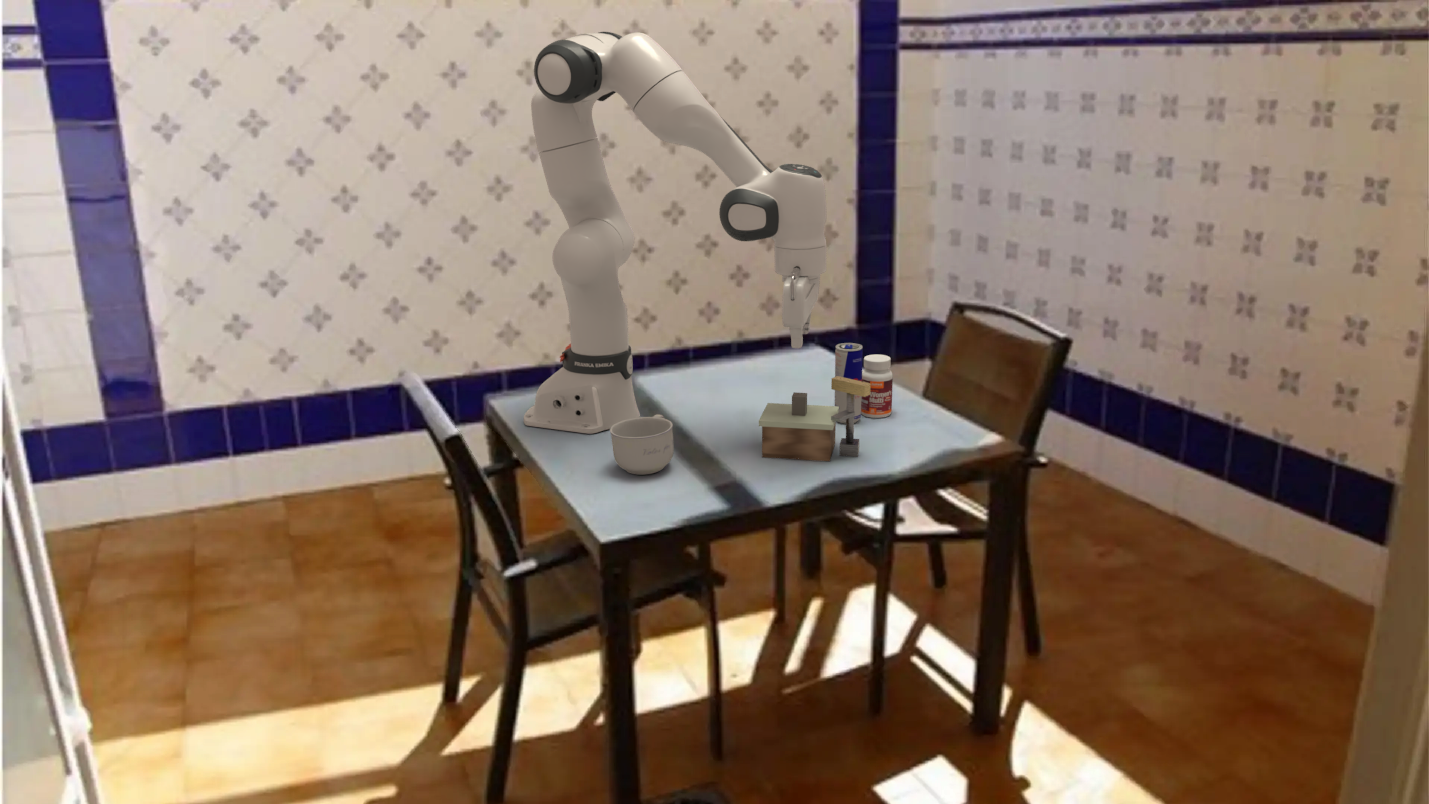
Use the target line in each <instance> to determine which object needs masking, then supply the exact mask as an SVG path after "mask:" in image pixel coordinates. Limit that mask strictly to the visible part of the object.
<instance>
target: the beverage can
mask: <svg viewBox="0 0 1429 804" xmlns="http://www.w3.org/2000/svg"><path fill="white" fill-rule="evenodd" d="M834 351H835V352H834V353H835V354H834V356H835V357H834V362H835V363H834V365H835V366H834V377H836V376H840V377H844V378H849V379H853V380H858V381H862V371H863V355H864V352H863V351H864V350H863V345H862V344H860V343H853V342H844V343H843V342H842V343H838V344H836V345H835V350H834ZM861 399H862V396H858V395H855V402H854V412H855V415H854V424H855V423H857V422H859V420H860V419H861V417H862V414H861ZM846 401H847V393H845V392H841V391H837V390H834V406H839V413H840V412H842V411H844V410H846ZM839 423H841V424H843V425H844V424H845V425H846V420H843V421H841V422H839Z"/></svg>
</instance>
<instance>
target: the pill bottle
mask: <svg viewBox="0 0 1429 804" xmlns="http://www.w3.org/2000/svg"><path fill="white" fill-rule="evenodd" d="M891 360H892V359H891V357H890V356H888V355H886V354H869V355H866V356H864V358H863V368H864V369H862V382H867V383H871V387H870V395H868V396H865V397H863V396H862V399H861V416H864V417H867V418H870V419H881V418H886V417H889V416H890V415H891V414H892V408H893V380H894V378H893V372H892V370H890V368H891Z"/></svg>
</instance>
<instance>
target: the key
mask: <svg viewBox="0 0 1429 804" xmlns="http://www.w3.org/2000/svg"><path fill="white" fill-rule="evenodd" d="M830 384H831V388H830V389H831V390H833V391H835V390H837V391H841V392H845V393H847V401H846V410H844V411H842V412H840V413H837V414H835V415H833V416H831V420H833V421H836V423H840V422H841V421H843V420H846V424H845V438H846V442H854V439H855V438H854V437H855V423H854V415H855V412H854V402H855V395H858V396H863V397H865V396H868V395H870V387H871V383H867V382H862V381H858V380H853V379H849V378H844V377H840V376H836V377H835V376H834V377H832V378H831V383H830Z"/></svg>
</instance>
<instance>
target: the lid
mask: <svg viewBox="0 0 1429 804" xmlns="http://www.w3.org/2000/svg"><path fill="white" fill-rule="evenodd" d="M837 413H839V406H835V405H819V404H818V405H816V404H808V393H807V392H793V394H792V395H791V403H777V402H776V403H775V402H767V404H766V406H765V408H764V409H763V411H762V414H761V416H760V418H759V419H758V427H762V426H763V427H782V428H801V429H820V430H833V428H834V425H835V422H836V423H837V421H833V420H831V416H833V415H835V414H837Z"/></svg>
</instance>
